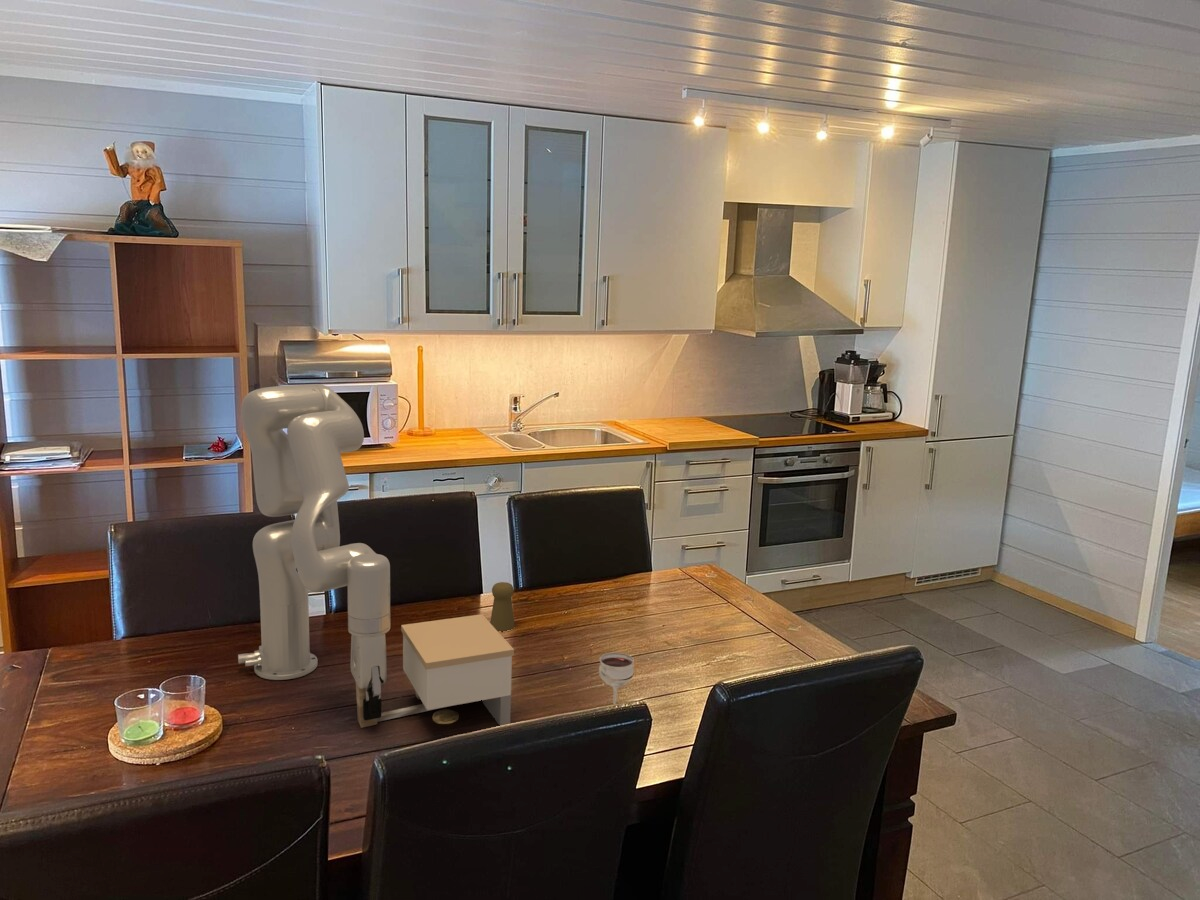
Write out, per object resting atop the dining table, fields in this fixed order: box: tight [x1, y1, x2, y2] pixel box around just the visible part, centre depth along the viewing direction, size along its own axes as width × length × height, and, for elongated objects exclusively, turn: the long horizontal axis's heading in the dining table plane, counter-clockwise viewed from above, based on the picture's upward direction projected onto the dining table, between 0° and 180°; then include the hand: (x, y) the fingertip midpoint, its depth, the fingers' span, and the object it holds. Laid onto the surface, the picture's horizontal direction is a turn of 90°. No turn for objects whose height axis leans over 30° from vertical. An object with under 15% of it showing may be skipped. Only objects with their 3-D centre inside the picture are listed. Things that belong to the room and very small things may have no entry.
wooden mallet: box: [355, 681, 449, 729], centre depth 166 cm, size 18×3×8 cm, turn 116°
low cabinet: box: [400, 613, 515, 726], centre depth 168 cm, size 17×19×15 cm
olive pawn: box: [489, 581, 516, 631], centre depth 210 cm, size 6×6×11 cm
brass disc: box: [431, 708, 460, 725], centre depth 167 cm, size 5×5×1 cm
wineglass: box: [598, 652, 635, 705], centre depth 168 cm, size 7×7×12 cm
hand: (370, 713), depth 164 cm, fingers closed on wooden mallet, 2 cm apart
